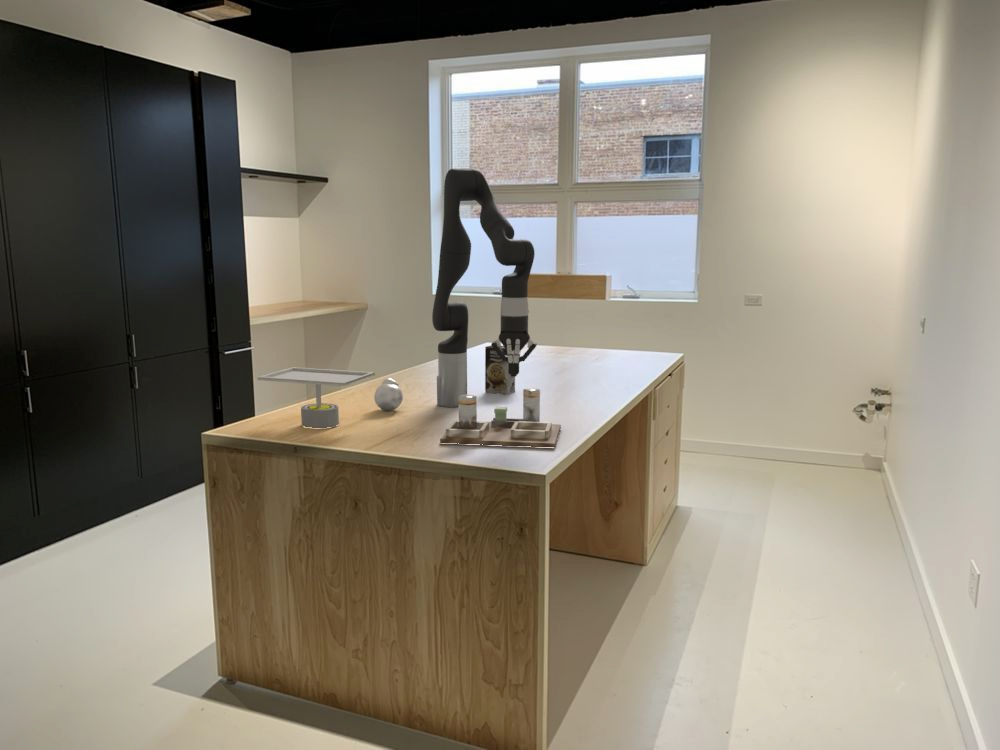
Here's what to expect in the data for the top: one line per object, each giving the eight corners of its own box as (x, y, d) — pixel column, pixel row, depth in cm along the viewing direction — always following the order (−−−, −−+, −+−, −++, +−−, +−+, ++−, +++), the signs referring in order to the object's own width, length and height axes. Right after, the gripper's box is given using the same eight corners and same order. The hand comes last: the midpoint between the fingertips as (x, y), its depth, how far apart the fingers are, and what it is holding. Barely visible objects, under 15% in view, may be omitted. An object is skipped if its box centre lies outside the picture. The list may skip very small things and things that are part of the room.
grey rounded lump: (410, 408, 236) (409, 377, 234) (391, 414, 228) (390, 382, 226) (387, 405, 241) (386, 375, 239) (368, 411, 233) (367, 380, 231)
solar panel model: (260, 428, 212) (257, 376, 209) (295, 415, 228) (293, 366, 225) (346, 437, 203) (344, 382, 200) (376, 422, 219) (375, 372, 216)
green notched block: (494, 425, 208) (494, 408, 208) (496, 422, 212) (496, 406, 211) (505, 425, 208) (505, 409, 207) (507, 423, 211) (507, 406, 210)
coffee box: (484, 392, 261) (484, 346, 258) (493, 389, 267) (493, 344, 264) (507, 395, 257) (507, 348, 254) (516, 391, 263) (516, 346, 260)
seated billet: (457, 434, 199) (456, 398, 197) (460, 430, 204) (460, 394, 202) (475, 435, 199) (474, 398, 197) (478, 430, 203) (478, 394, 201)
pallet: (440, 444, 196) (439, 431, 195) (456, 425, 215) (456, 413, 214) (554, 449, 191) (554, 435, 190) (560, 429, 210) (560, 417, 210)
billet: (522, 425, 216) (522, 391, 214) (524, 421, 220) (524, 387, 219) (538, 425, 215) (539, 391, 213) (540, 421, 220) (540, 388, 218)
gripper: (488, 314, 201) (487, 377, 204) (537, 315, 199) (536, 379, 202) (492, 311, 208) (492, 372, 211) (540, 312, 206) (539, 374, 210)
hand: (513, 375), depth 207 cm, fingers closed
